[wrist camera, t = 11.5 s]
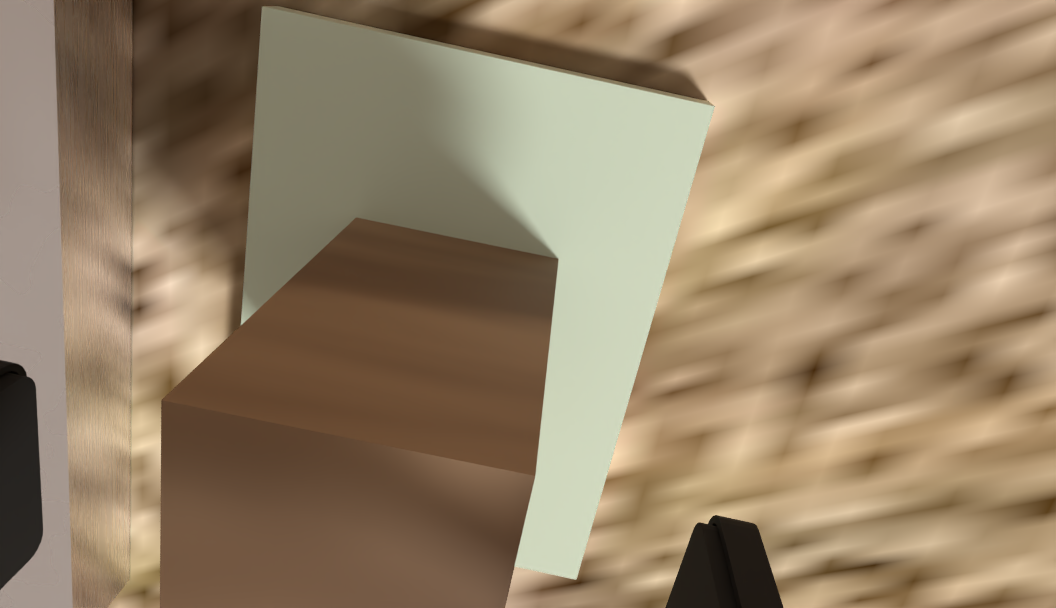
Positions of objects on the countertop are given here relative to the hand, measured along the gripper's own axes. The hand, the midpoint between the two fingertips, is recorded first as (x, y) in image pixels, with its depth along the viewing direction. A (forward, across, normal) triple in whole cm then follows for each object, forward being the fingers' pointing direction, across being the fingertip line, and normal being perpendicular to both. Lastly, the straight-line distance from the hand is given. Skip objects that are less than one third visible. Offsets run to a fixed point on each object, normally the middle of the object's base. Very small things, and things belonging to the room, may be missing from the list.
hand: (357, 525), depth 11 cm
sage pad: (+8, 0, 0) cm, 8 cm away
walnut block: (+7, 0, 0) cm, 7 cm away
